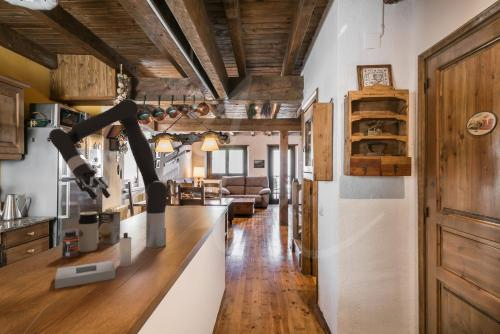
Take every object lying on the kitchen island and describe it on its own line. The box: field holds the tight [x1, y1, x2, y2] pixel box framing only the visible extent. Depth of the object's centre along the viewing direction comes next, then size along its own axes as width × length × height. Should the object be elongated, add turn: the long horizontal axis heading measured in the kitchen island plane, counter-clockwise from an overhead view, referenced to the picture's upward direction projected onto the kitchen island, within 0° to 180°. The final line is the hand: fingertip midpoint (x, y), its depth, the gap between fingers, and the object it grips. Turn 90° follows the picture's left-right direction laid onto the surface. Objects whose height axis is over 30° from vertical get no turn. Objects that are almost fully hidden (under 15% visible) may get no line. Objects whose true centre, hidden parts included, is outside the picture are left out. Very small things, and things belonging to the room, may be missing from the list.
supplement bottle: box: [61, 230, 79, 259], centre depth 127 cm, size 6×6×11 cm
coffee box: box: [97, 210, 121, 245], centre depth 152 cm, size 9×6×16 cm
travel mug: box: [78, 211, 99, 253], centre depth 137 cm, size 8×8×18 cm
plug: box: [118, 232, 132, 268], centre depth 117 cm, size 4×4×13 cm
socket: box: [54, 260, 116, 290], centre depth 103 cm, size 18×12×3 cm, turn 121°
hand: (102, 197), depth 120 cm, fingers open, 8 cm apart
